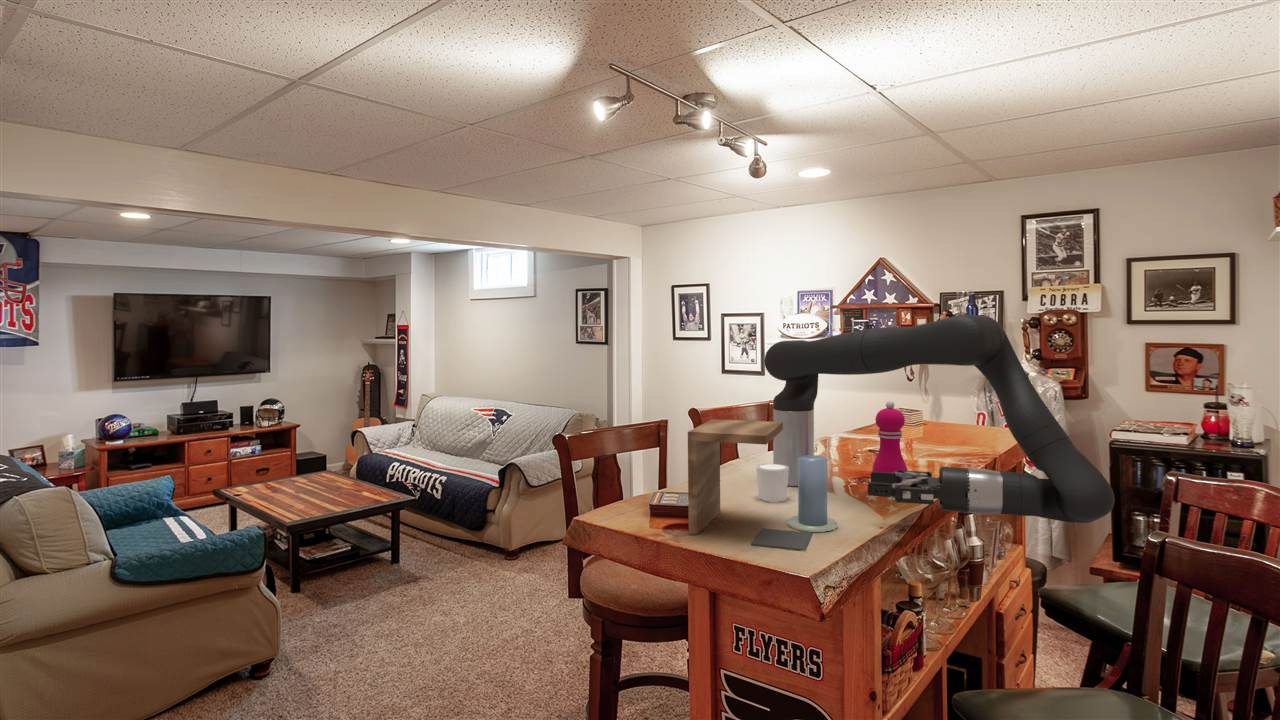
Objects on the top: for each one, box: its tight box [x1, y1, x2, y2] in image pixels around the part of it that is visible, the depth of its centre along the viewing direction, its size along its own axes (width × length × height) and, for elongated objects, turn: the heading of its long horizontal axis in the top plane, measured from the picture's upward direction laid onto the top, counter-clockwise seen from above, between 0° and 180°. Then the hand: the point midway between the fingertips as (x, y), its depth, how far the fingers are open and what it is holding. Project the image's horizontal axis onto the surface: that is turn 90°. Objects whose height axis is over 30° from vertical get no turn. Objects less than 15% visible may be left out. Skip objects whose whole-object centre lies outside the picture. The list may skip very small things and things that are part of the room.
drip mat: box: [750, 527, 813, 551], centre depth 116 cm, size 9×9×1 cm
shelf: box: [687, 418, 783, 536], centre depth 124 cm, size 14×16×18 cm
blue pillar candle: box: [797, 454, 828, 526], centre depth 123 cm, size 5×5×12 cm
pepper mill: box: [871, 400, 908, 484], centre depth 146 cm, size 7×7×20 cm
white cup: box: [755, 463, 789, 503], centre depth 142 cm, size 7×7×7 cm
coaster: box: [787, 515, 839, 533], centre depth 124 cm, size 9×9×1 cm
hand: (869, 483), depth 119 cm, fingers open, 8 cm apart
